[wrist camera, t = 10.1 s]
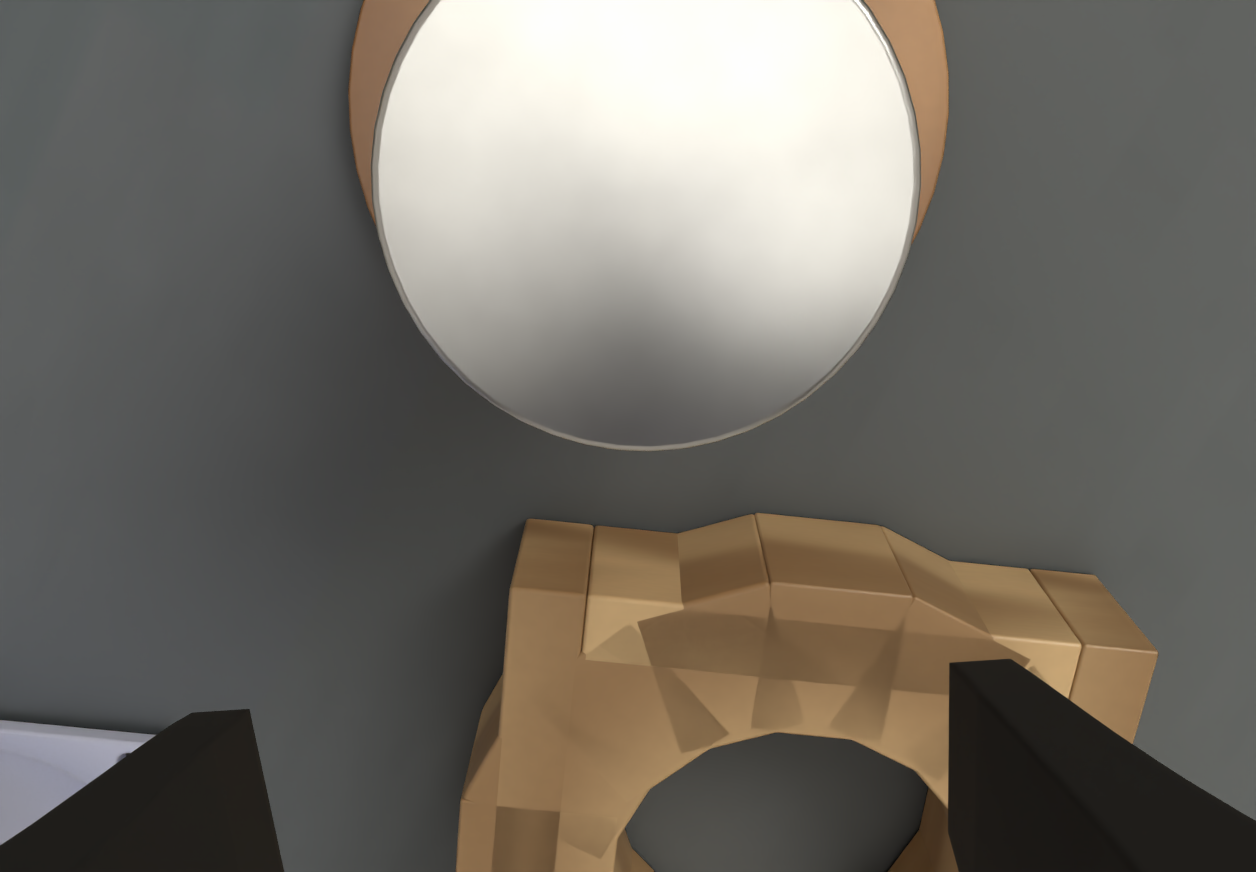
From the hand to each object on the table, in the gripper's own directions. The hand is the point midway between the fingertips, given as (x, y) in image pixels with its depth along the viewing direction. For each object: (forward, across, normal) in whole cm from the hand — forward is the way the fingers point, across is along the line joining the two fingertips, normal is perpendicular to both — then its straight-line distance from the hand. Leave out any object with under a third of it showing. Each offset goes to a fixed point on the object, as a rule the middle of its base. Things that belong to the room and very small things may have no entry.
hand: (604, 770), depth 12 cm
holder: (+10, -2, +8) cm, 13 cm away
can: (+10, -1, -6) cm, 11 cm away
